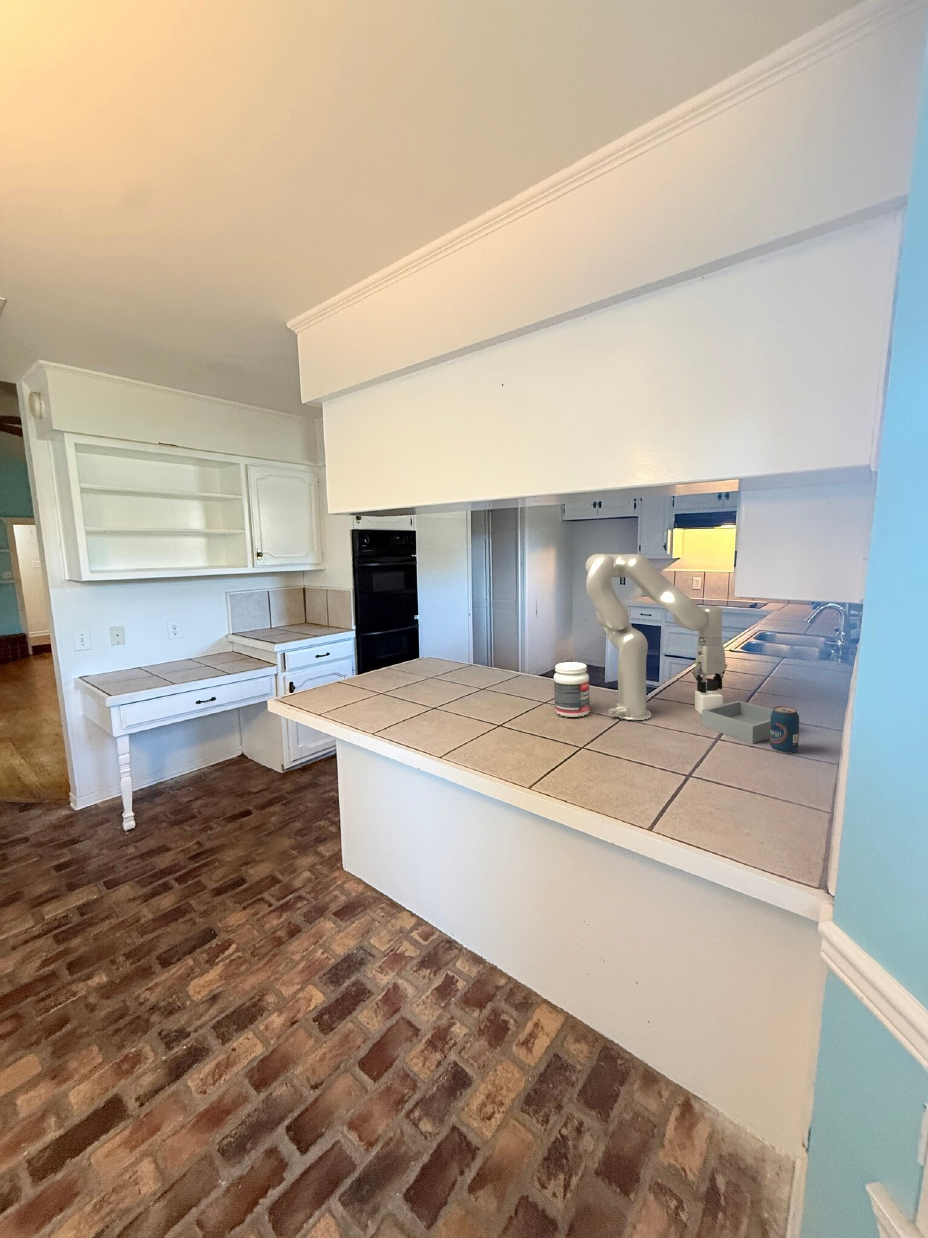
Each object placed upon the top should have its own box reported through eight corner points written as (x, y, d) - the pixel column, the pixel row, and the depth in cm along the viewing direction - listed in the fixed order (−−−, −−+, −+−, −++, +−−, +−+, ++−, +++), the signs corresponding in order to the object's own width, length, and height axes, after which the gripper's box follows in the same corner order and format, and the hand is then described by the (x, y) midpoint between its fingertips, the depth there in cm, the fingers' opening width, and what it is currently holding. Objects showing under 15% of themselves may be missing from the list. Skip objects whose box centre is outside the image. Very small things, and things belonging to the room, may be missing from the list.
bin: (752, 744, 147) (752, 726, 146) (701, 726, 163) (701, 710, 162) (791, 731, 154) (791, 714, 153) (738, 715, 170) (738, 700, 169)
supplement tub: (591, 719, 176) (590, 669, 173) (555, 719, 178) (553, 670, 175) (588, 707, 188) (587, 661, 186) (554, 708, 190) (552, 662, 188)
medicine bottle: (714, 708, 178) (715, 676, 177) (723, 715, 171) (723, 682, 170) (694, 709, 179) (694, 677, 178) (701, 715, 172) (702, 682, 171)
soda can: (764, 747, 144) (764, 708, 142) (780, 742, 146) (781, 704, 145) (786, 756, 137) (788, 715, 136) (804, 751, 140) (805, 710, 138)
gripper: (701, 646, 165) (701, 697, 168) (736, 639, 172) (736, 688, 174) (683, 643, 172) (683, 692, 174) (718, 636, 179) (717, 683, 181)
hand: (709, 689), depth 174 cm, fingers open, 7 cm apart
